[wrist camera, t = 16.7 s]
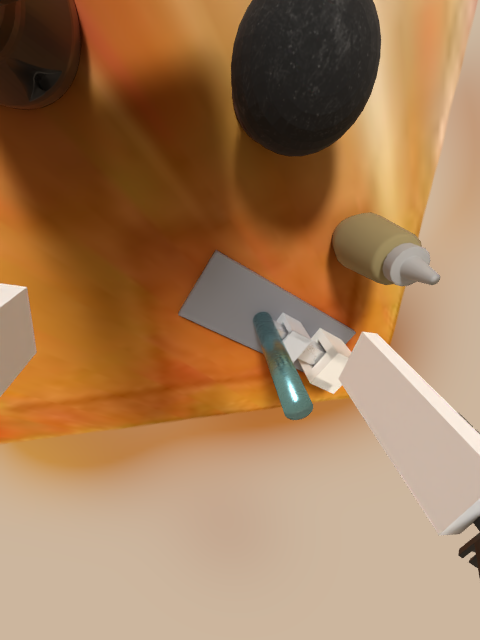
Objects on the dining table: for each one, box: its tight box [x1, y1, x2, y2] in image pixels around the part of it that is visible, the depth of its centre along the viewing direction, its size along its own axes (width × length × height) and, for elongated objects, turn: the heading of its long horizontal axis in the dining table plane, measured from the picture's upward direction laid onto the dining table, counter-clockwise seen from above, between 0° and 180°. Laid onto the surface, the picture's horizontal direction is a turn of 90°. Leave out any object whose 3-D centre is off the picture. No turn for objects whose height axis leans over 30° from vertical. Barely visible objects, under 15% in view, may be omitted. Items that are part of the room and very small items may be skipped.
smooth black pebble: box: [231, 0, 381, 156], centre depth 27 cm, size 13×13×15 cm
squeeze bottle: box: [332, 213, 440, 286], centre depth 36 cm, size 8×8×18 cm
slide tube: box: [253, 312, 327, 420], centre depth 41 cm, size 16×3×20 cm, turn 57°
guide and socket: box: [178, 250, 356, 394], centre depth 46 cm, size 30×12×8 cm, turn 57°
